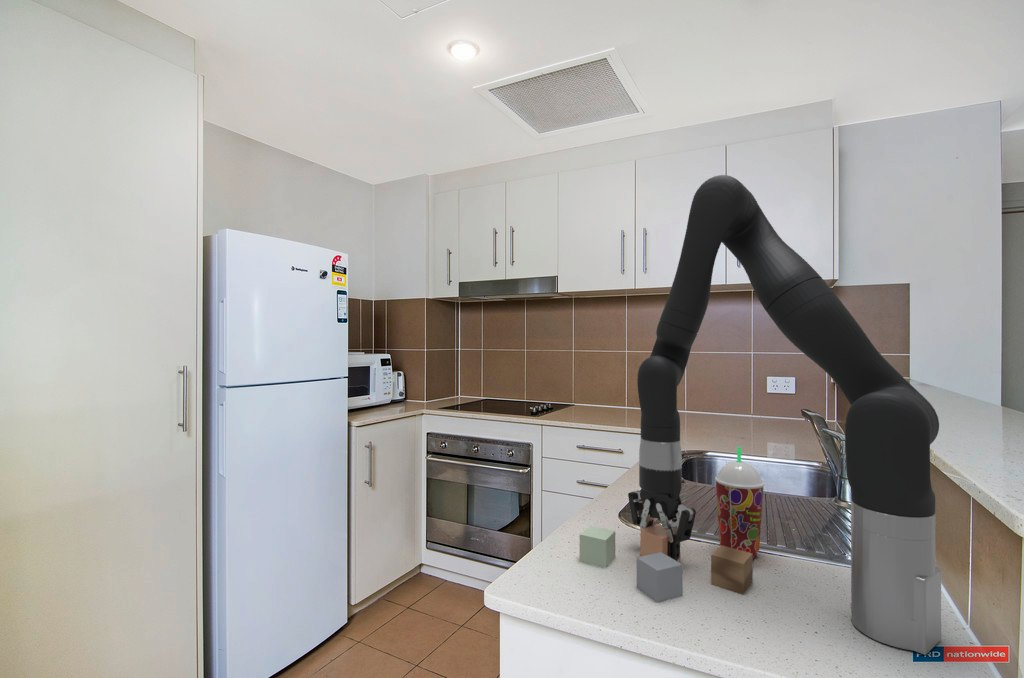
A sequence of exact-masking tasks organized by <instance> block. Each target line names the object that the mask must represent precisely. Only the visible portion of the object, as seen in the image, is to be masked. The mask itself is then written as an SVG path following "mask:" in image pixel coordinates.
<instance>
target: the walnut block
mask: <svg viewBox="0 0 1024 678" xmlns="http://www.w3.org/2000/svg"><path fill="white" fill-rule="evenodd" d="M753 559H754V558H753V553H749V552H745V551H741V550H738V549H734V548H730V547H726V546H722V545H720V546H719V547H717V549H716V550H714V552H712V553H711V555H710V563H711V564H710V585H711V586H715V587H716V588H717V587H718V588H720V589H724V590H726V591H730V592H733V593H737V594H740V595H742V596H744V595H745V594H746V593H747V591H748V590H749V588H750V587H751V586H752V585H753V579H754V578H753V573H754V572H753V571H754V570H753V569H754V567H753V564H754V563H753V562H754V561H753Z"/></svg>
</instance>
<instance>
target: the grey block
mask: <svg viewBox="0 0 1024 678" xmlns="http://www.w3.org/2000/svg"><path fill="white" fill-rule="evenodd" d="M683 568H684V567H683V563H680V562H679V561H676V560H674V559H672V558H670V557H669V556H667V555H665V554H663V553H662V552H659V553H654V554H650V555H645V556H638V557H636V589H638V590H639V591H641V593H643V594H644V595H646V596H647V597H649V598H650V599H652V600H653V601H654V602H655V603H662V602H666V601H670V600H672V599H673V600H674V599H676V598H680V597H683V595H684V594H683V593H684V592H683V591H684V590H683V589H684V588H683V587H684V585H683V584H684V583H683V579H684V576H683V575H684V570H683Z"/></svg>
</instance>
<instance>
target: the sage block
mask: <svg viewBox="0 0 1024 678" xmlns="http://www.w3.org/2000/svg"><path fill="white" fill-rule="evenodd" d="M614 559H616V530H613V529H609V528H604V527H600V526H593V525H589V526H587V528H585V529H584V530H583V531H582V532H580V533H579V562H580V563H584V564H589V565H592V566H597V567H600V568H604V569H607V567H608V566H609V565H610V564H611V563H612V562H613V561H614Z"/></svg>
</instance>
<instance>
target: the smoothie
mask: <svg viewBox="0 0 1024 678" xmlns="http://www.w3.org/2000/svg"><path fill="white" fill-rule="evenodd" d="M736 448H737V452H736V453H737V454H736V455H737V456H736V457H737V459H736V460H734V461H730V462H727V463H725V464H724V465H723V466H722V467H721V468H720V470H719V471H718V473H717V475H716V476H715V477H714V480H715V490H716V504H717V505H716V506H717V507H716V509H717V523H718V537H719V545H720V546H721V545H722V546H726V547H730V548H734V549H738V550H741V551H745V552H749V553H753V559H754V558H756V556H757V552H759V551H760V546H761V530H762V515H763V514H762V513H763V500H764V486H765V483H764V481H763V480H762V478H761V476H760V474H759V472H758V471H757V469H756V468H755V467H754V466H752V465H751V464H749V463H747V462H745V461H742V447H741V446H737V447H736Z"/></svg>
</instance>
